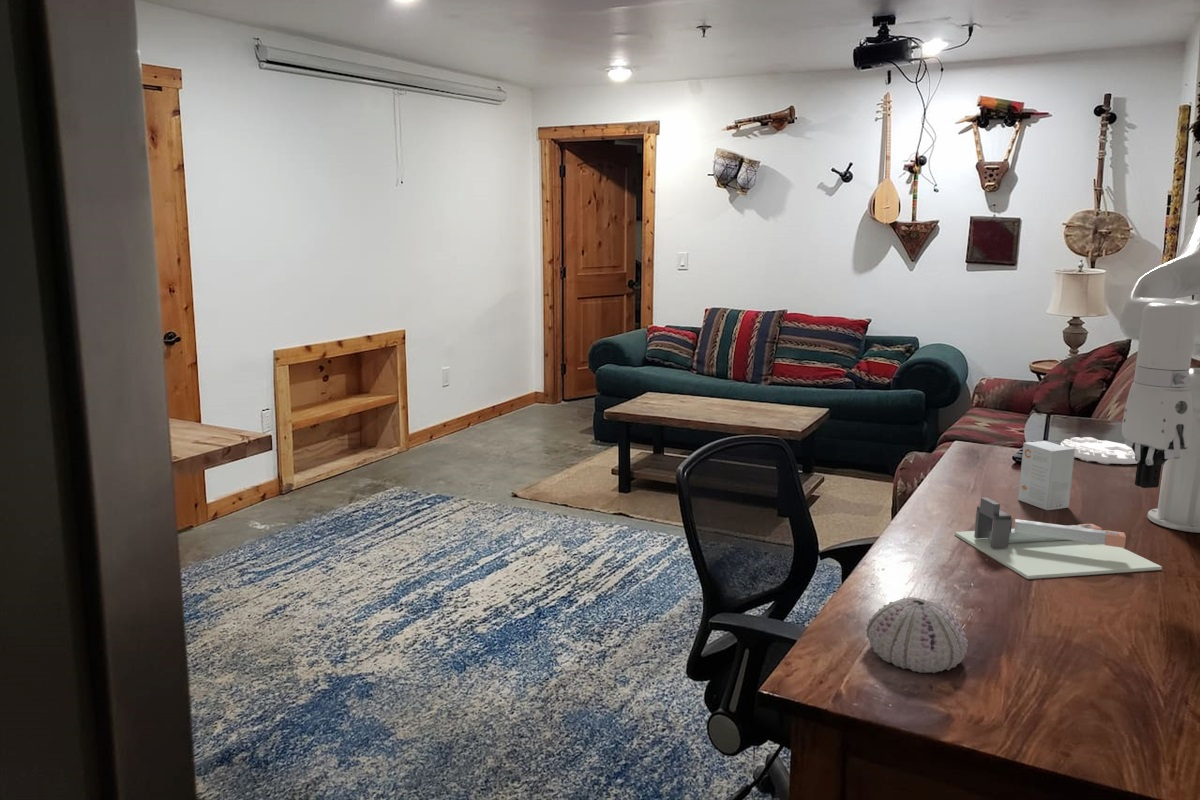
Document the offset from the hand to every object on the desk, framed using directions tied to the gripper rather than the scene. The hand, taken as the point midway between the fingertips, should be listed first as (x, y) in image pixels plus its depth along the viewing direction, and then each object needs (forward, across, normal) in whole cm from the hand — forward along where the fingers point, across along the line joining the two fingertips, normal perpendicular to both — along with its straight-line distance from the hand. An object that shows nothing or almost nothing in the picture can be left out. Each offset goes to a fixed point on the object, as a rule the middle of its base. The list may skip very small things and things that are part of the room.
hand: (1146, 486), depth 149 cm
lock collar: (+16, +17, +16) cm, 28 cm away
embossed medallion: (+16, +74, -54) cm, 93 cm away
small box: (+16, +39, -11) cm, 44 cm away
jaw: (+13, +11, +4) cm, 18 cm away
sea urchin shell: (+17, -20, +52) cm, 58 cm away
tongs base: (+16, +17, +5) cm, 24 cm away
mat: (+16, +13, +6) cm, 22 cm away
